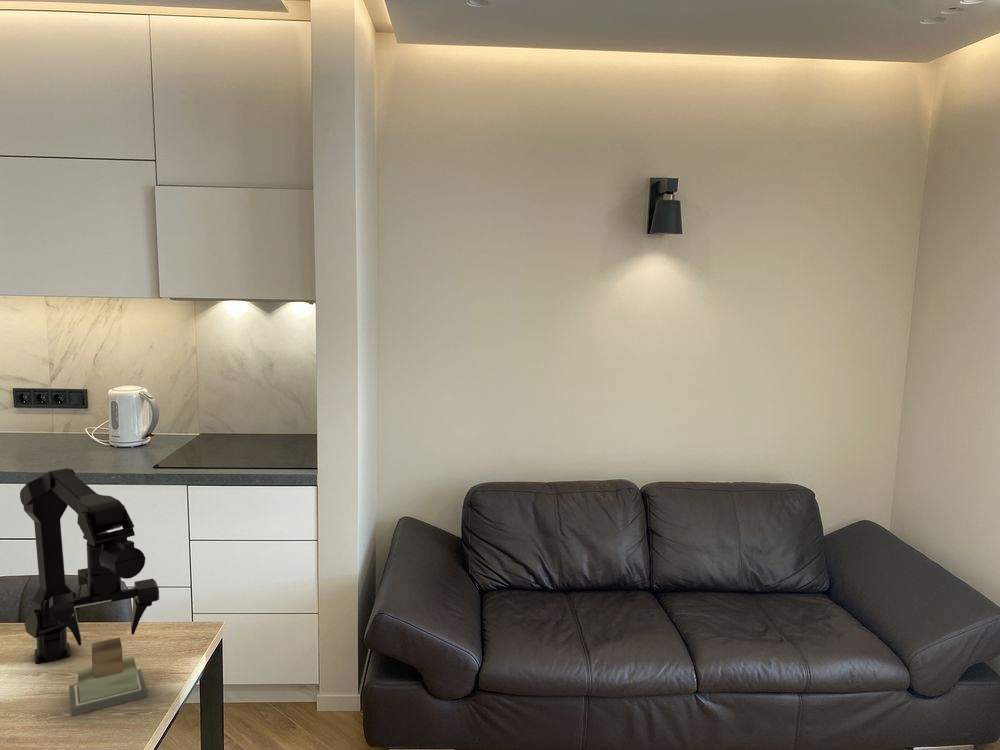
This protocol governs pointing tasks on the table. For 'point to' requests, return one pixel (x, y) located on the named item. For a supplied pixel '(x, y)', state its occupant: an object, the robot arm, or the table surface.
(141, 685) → the plinth
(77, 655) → the table surface
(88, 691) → the sage block
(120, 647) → the walnut cube
